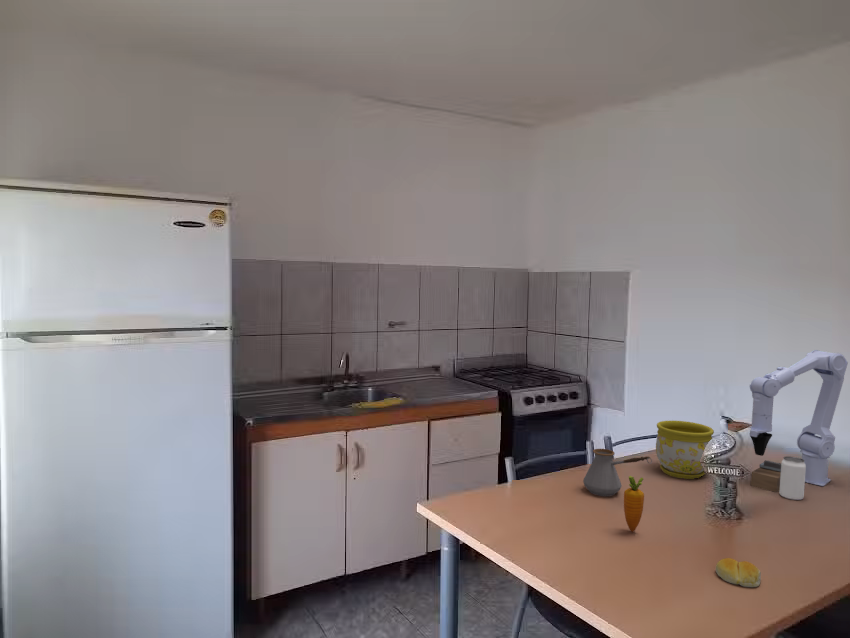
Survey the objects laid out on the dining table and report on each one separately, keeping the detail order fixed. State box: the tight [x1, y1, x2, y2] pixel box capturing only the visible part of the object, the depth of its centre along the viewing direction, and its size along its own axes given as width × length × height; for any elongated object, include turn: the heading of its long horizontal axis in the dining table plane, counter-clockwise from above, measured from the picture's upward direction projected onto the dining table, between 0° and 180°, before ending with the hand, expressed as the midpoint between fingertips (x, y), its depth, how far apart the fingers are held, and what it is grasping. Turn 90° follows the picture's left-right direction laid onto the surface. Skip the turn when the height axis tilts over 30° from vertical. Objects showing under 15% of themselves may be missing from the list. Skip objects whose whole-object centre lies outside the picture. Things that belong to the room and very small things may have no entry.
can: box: [778, 455, 806, 501], centre depth 185 cm, size 6×6×12 cm
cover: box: [758, 460, 782, 472], centre depth 199 cm, size 7×8×2 cm
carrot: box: [623, 475, 645, 533], centre depth 155 cm, size 5×5×15 cm
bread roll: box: [715, 557, 762, 588], centre depth 133 cm, size 8×9×4 cm
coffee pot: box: [582, 448, 653, 497], centre depth 181 cm, size 21×12×15 cm, turn 40°
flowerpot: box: [655, 420, 715, 480], centre depth 205 cm, size 18×18×16 cm
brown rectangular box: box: [750, 467, 781, 493], centre depth 197 cm, size 14×8×5 cm, turn 133°
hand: (759, 454), depth 195 cm, fingers closed
